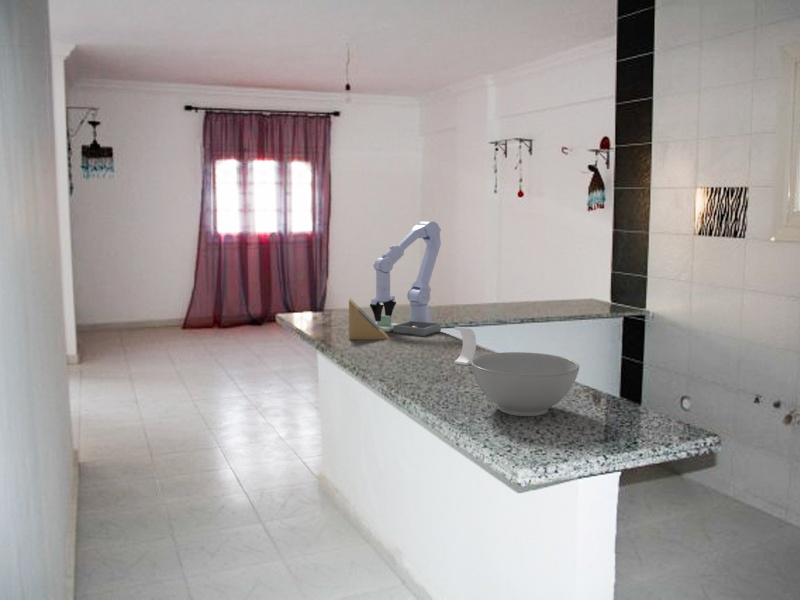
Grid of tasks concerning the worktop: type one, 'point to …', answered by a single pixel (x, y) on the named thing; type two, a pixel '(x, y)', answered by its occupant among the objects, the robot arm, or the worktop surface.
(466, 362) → the headphone stand
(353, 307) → the sandwich container
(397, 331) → the tub
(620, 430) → the worktop surface
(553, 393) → the decorative bowl
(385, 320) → the lid
